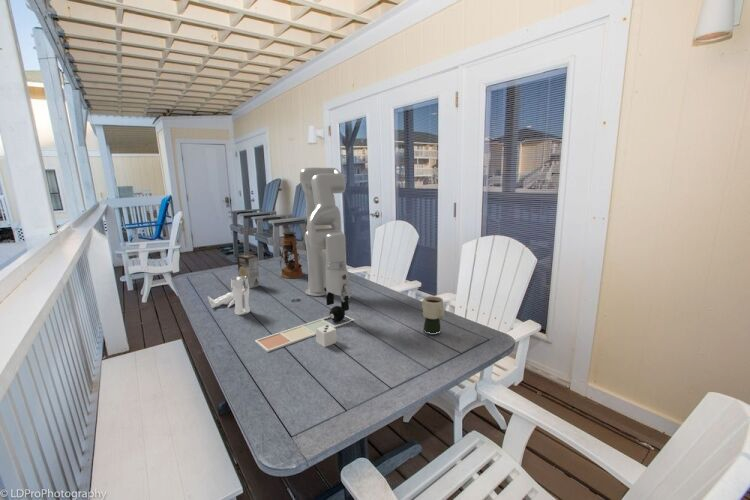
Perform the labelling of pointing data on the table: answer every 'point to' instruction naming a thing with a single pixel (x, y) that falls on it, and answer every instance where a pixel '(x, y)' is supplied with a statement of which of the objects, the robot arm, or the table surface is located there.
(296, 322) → the table surface
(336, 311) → the billiard ball
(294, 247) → the lantern
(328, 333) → the die
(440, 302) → the character mug
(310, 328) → the board
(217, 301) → the toy creature
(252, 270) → the coffee box
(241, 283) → the beer glass
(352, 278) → the table surface
